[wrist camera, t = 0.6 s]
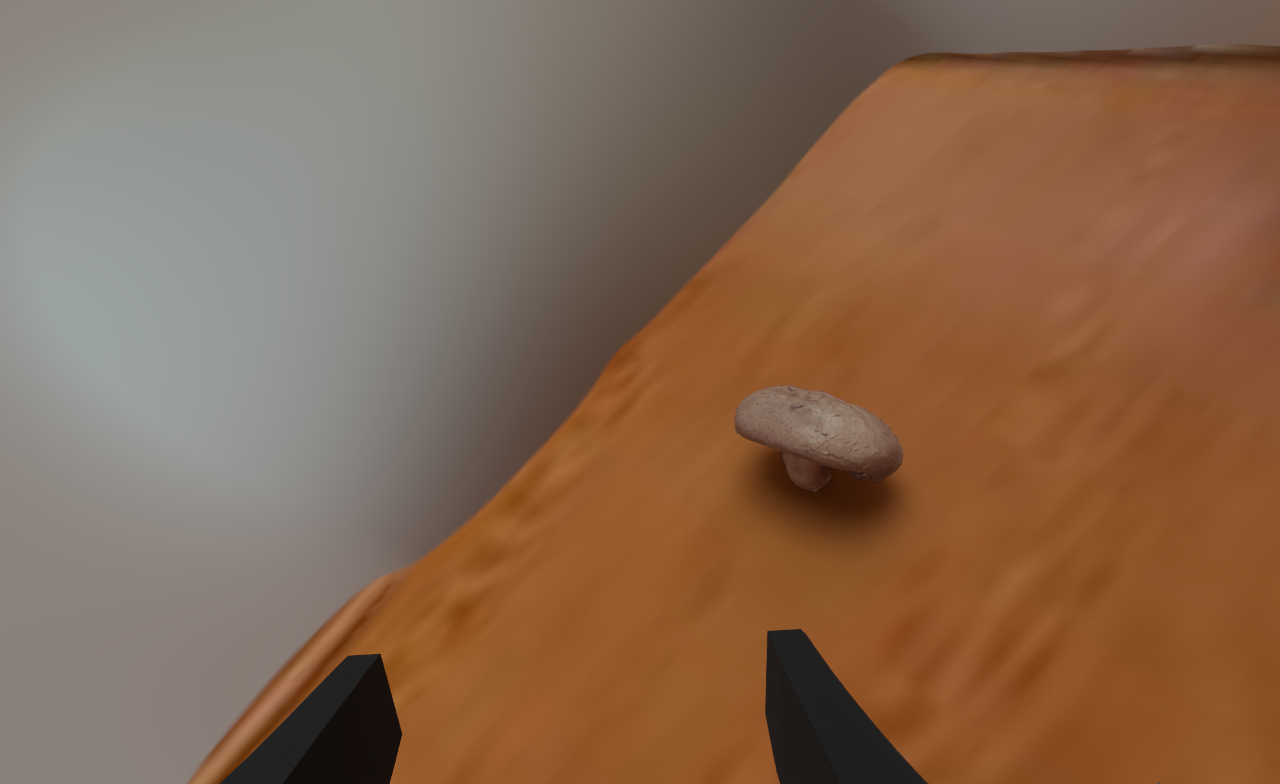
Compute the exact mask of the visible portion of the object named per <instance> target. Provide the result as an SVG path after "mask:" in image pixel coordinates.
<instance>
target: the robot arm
mask: <svg viewBox="0 0 1280 784" xmlns="http://www.w3.org/2000/svg"><path fill="white" fill-rule="evenodd" d="M765 714H766V719H767V724H768V730H769V735H770V740H771V746H772V751H773V756H774V761H775V766H776V771H777V774H778V778H779V781H780V784H928V783H927V782H926V781H925V780H924V779H923V778H922V777H921V776H920V775H919V774H918V773H917V772H916V771H915V770H914V769H913V767H912V766H911V765H910V764H909V763H908V762H907V761H906V760H905V759H904V758H903V756H902V755H901V754H900V753H899V752H898V751H897V750H896V749H895V748H894V747H893V745H892V744H891V743H890V742H889V741H888V740H887V738H886V737H885V736H884V735H883V734H882V733H881V732H880V730H879V729H878V728H877V727H876V726H875V724H874V723H873V722H872V721H871V720H870V718H869V717H868V716H867V715H866V714H865V712H864V711H863V710H862V709H861V707H860V706H859V705H858V704H857V703H856V701H855V700H854V699H853V698H852V696H851V695H850V694H849V693H848V691H847V690H846V689H845V687H844V686H843V685H842V683H841V682H840V681H839V680H838V678H837V677H836V676H835V674H834V673H833V672H832V670H831V669H830V668H829V666H828V665H827V663H826V662H825V661H824V659H823V658H822V657H821V655H820V654H819V652H818V651H817V649H816V648H815V647H814V645H813V644H812V642H811V641H810V639H809V638H808V636H807V635H806V634H805V633H804V632H803V631H802V630H801V629H795V630H778V631H768V632H767V668H766V705H765ZM401 737H402V732H401V728H400V724H399V720H398V717H397V713H396V709H395V706H394V702H393V698H392V695H391V691H390V687H389V683H388V680H387V676H386V672H385V669H384V665H383V661H382V658H381V654H370V655H353V656H347V657H346V658H345V659H344V660H343V661H342V662H341V663H340V664H339V665H338V666H337V667H336V668H335V669H334V670H333V671H332V672H331V673H330V674H329V675H328V676H327V677H326V678H325V679H324V681H323V682H322V683H321V684H320V685H319V686H318V687H317V688H316V689H315V690H314V691H313V692H312V693H311V694H310V695H309V696H308V697H307V698H306V699H305V700H304V701H303V702H302V703H301V704H300V705H299V706H298V707H297V708H296V709H295V710H294V711H293V712H292V713H291V714H290V716H289V717H288V718H287V719H286V720H285V721H284V722H283V723H282V724H281V725H280V726H279V727H278V728H277V729H276V730H275V731H274V732H273V733H272V734H271V735H270V736H269V737H268V738H267V739H266V740H265V741H264V742H263V743H262V744H261V745H260V746H259V747H258V748H257V749H256V750H255V751H254V752H253V753H252V754H251V755H250V756H249V757H248V758H247V759H246V760H245V761H244V762H242V763H241V764H240V765H239V766H238V767H237V768H236V769H235V770H234V771H233V772H232V773H231V774H230V775H229V776H228V777H226V778H225V779H224V780H223V781H222V782H221V783H220V784H390V780H391V776H392V773H393V769H394V765H395V761H396V757H397V753H398V749H399V745H400V741H401Z"/></svg>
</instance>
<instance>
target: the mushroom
mask: <svg viewBox="0 0 1280 784" xmlns="http://www.w3.org/2000/svg"><path fill="white" fill-rule="evenodd" d="M735 428H736V433H737V434H738V433H739V434H740V435H741V436H742V437H744V438H746V439H748V440H750V441H753V442H756V443H759V444H762V445H765V446H768V447H770V448H773V449H776V450H779V451H782V452H783V455H782V459H783V461H784V463H785V465H786V470H787V473H788V476H789V477H790V478H791V480H792V481H793V482H794V483H795V484H796V486H798V487H799V488H803V489H805V490H808V491H814V492H817V491H818V490H819V489H820V488H822V487H823V486H825V485H826V484H827V483H828V482H829V481H830V480H831V479H830V477H831V470H830V467H831V468H835V469H841V470H846V471H847V472H849V473H850V474H851V475H852V476H853V477H854V478H859V479H860V480H861V479H862V480H865V479H866V480H869V481H875V482H877V483H878V482H880V481H882V480H884V479H885V478H887V477H888V476H890V475H891V474H893V473H894V472H895V471H896V470H897V469H898V468H899V467H900V465H901V464H902V459H903V451H902V446H901V445H900V443H899V442H898V439H897V436H896V435H894V434H893V432H892V431H891V429H890V427H888V426H887V425H886V424H885V423H884V422H882V420H881V419H880V418H878V417H876V416H875V415H873V414H872V413H870V412H868V411H867V410H866V409H865V408H862V407H860V406H857V405H853V404H849V403H846V402H845V401H844V400H843V399H838V398H835V397H834V396H832V395H830V394H828V393H827V392H824V391H809V390H807V389H802V388H798V387H796V386H793V385H789V386H783V385H781V386H778V387H770V388H765V389H762V390H758V391H756V392H754V393H753V394H751V395H749V396H748V397H746V398H744V399H743V400H742V402H741V403H740V405H739V406H738V408H737V411H736V414H735Z"/></svg>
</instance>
